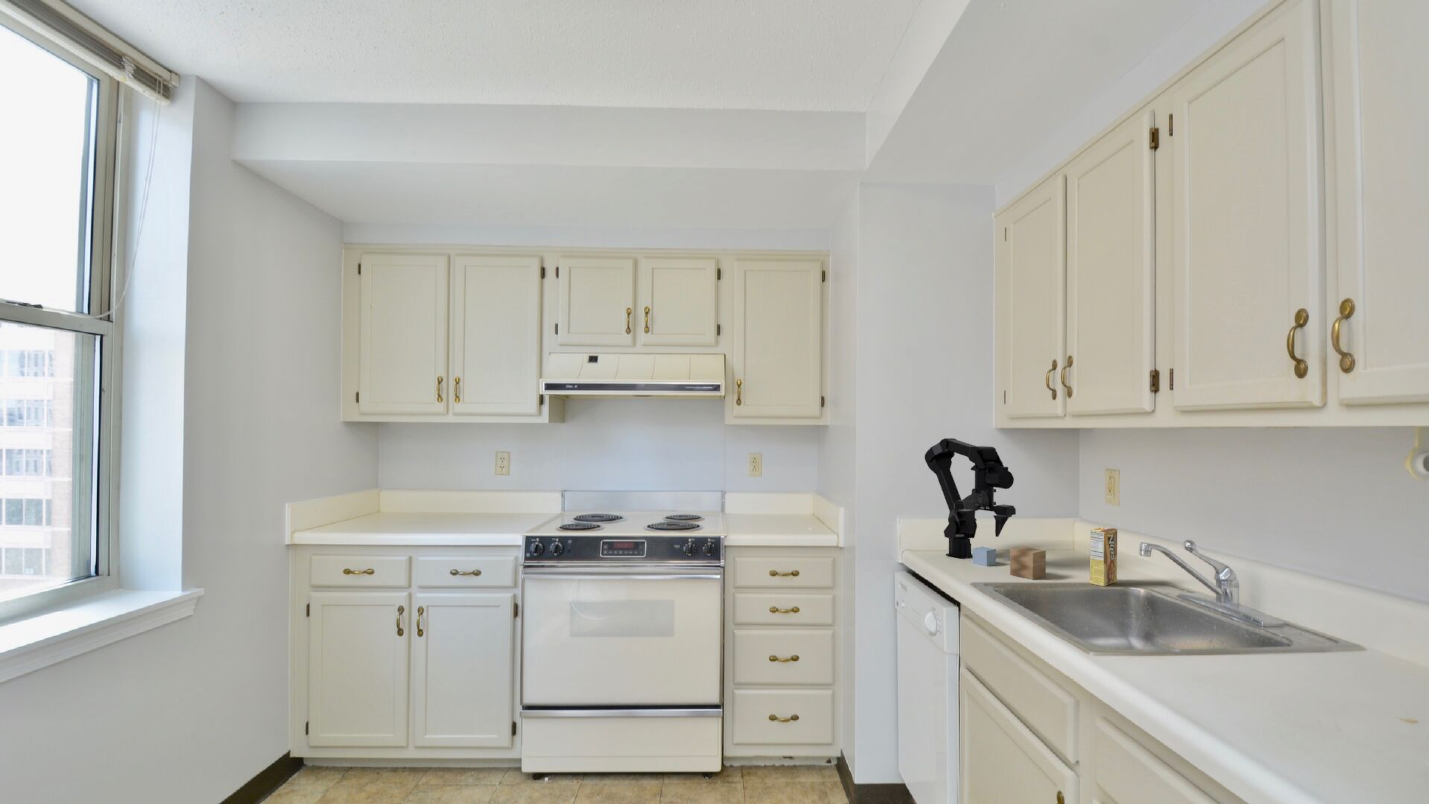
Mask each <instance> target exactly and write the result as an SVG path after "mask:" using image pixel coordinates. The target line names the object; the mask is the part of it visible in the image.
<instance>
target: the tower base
mask: <svg viewBox="0 0 1429 804" xmlns="http://www.w3.org/2000/svg"><path fill="white" fill-rule="evenodd" d="M1009 563H1010V562H1009ZM1046 567H1047V563H1046V564H1044V565H1039V566H1035V567H1031V566H1025V565H1020V564H1015V563H1010V564H1009V568H1010V569H1009V571H1010V572H1009V575H1010V576H1011V575H1012V576H1011V577H1015V578H1021V579H1025V578H1026V579H1025V580H1030V579H1031V581H1035V580H1038V578H1039V579H1044V578H1046V576H1047V574H1046V573H1047V568H1046ZM1034 579H1035V580H1034Z"/></svg>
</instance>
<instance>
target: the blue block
mask: <svg viewBox="0 0 1429 804" xmlns="http://www.w3.org/2000/svg"><path fill="white" fill-rule="evenodd" d="M972 555H973V556H972V564H973V565H977V566H982V567H991V566H996V564H997V549H996V548H990V547H986V546H978V547H972Z"/></svg>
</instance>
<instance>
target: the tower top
mask: <svg viewBox="0 0 1429 804" xmlns="http://www.w3.org/2000/svg"><path fill="white" fill-rule="evenodd" d="M1009 553H1010V555H1009V557H1010V559H1009V561H1010V562H1009V563H1015V564H1020V565H1025V566H1031V567H1035V566H1039V565H1044V564H1046V565H1047V563H1046V562H1047V561H1046V560H1047V558H1046V557H1047V550H1046V549H1041V548H1040V549H1039V548H1034V547H1028V546H1027V547H1026V546H1021V547H1020V546H1019V547H1015V548H1010V550H1009Z"/></svg>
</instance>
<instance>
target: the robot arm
mask: <svg viewBox="0 0 1429 804" xmlns="http://www.w3.org/2000/svg"><path fill="white" fill-rule="evenodd" d="M955 454H958V455H961V456H964V457H966V458H968V460H969V462H971V463H973V464H974V465H972V466H971V467H970V470H971V471H974V488H972V489H971V494H969V495H967V496H966V497H964V498H963V499H962V497H961V495H960V492H959V489H958V487H957V485H956V481H955V479H954V476H953V474H952V472H951V467H952V465H953V462H952V459H953V458H954V457H955ZM924 461H925V462H926V463H925V464H926V465H927V467H928V469H930V471H931V472H932V473H934V475H936V477H937V481H938V483H939V486H940V489H941V491H942V494H943V496H944V499H945V503H946V505H947V508H948V510H949V514H948V517H947V522H948V524H947V526H946V528H945V529H944V530H943V534H944V535H943V536H944V538H947V539H948V552H947V553H945V556H949V557H953V558H957V559H966V558H971V557H972V558H973V554H972V542H971V539H974V538H975V537H976V533H977V528H978V524H977V521H978V520H977V519H976V512H977V511H985V512H993V513H994V514H995V515H993V518H994V521H995V524H994V525H995V527H994V528H995V529H994V530H995V531H994V533H995V537H996V538H998V537H1000V534H1001V532H1002V531H1003V528H1004V527H1005V525H1006V523H1007V521H1008V520H1009V519H1010V518H1012V516H1016V514H1017V513H1016V512H1017V510H1016V507H1015V506H1014V505H1011V504H1004V503H1003V504H998V505H997V501H995V499H994V498H995V493H997V489H1003V490H1004V489H1005V490H1009V489H1010V488H1012V487H1013V484H1014V483H1015V479H1014V476H1013V474H1012V472H1011V471H1009V467H1008V466H1004V463H1003V461H1002V460H1001V458H1000V456H999V453H998V452H997V449H996V448H995V447H994V446H988V445H987V446H984V445H983V446H982V445H981V446H980V445H974V444H972V443H968V442H965V441H963V440H958V439H957V438H951V437H950V438H945V437H944V438H943V439H941V440H940V441H939V442H937V443H936V444H935V445H932V446H931V447H929V449H928V450H927V451H926V452H925V453H924ZM996 488H997V489H996Z"/></svg>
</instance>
